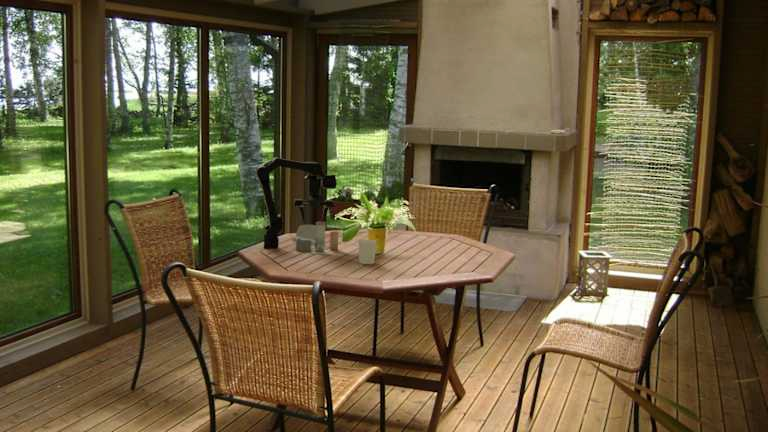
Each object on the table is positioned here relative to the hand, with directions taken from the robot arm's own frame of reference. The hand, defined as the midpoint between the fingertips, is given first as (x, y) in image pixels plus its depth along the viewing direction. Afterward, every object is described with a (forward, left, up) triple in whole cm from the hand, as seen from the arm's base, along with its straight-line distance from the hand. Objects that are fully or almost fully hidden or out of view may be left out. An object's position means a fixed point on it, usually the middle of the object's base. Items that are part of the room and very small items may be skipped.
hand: (313, 220), depth 398 cm
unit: (-5, -7, -13) cm, 15 cm away
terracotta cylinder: (+10, -5, -13) cm, 17 cm away
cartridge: (+3, -12, -13) cm, 18 cm away
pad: (+3, -12, -13) cm, 18 cm away
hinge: (-1, +12, -13) cm, 18 cm away
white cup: (+23, -33, -13) cm, 42 cm away
